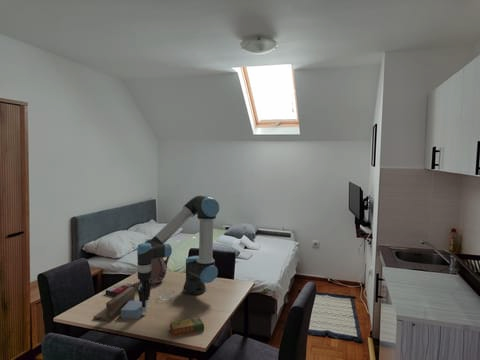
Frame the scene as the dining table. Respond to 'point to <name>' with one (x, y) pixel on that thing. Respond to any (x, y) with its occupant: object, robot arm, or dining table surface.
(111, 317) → the brown long angled block
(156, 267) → the ceramic pitcher
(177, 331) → the carton
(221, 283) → the dining table surface
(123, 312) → the slate block
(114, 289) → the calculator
